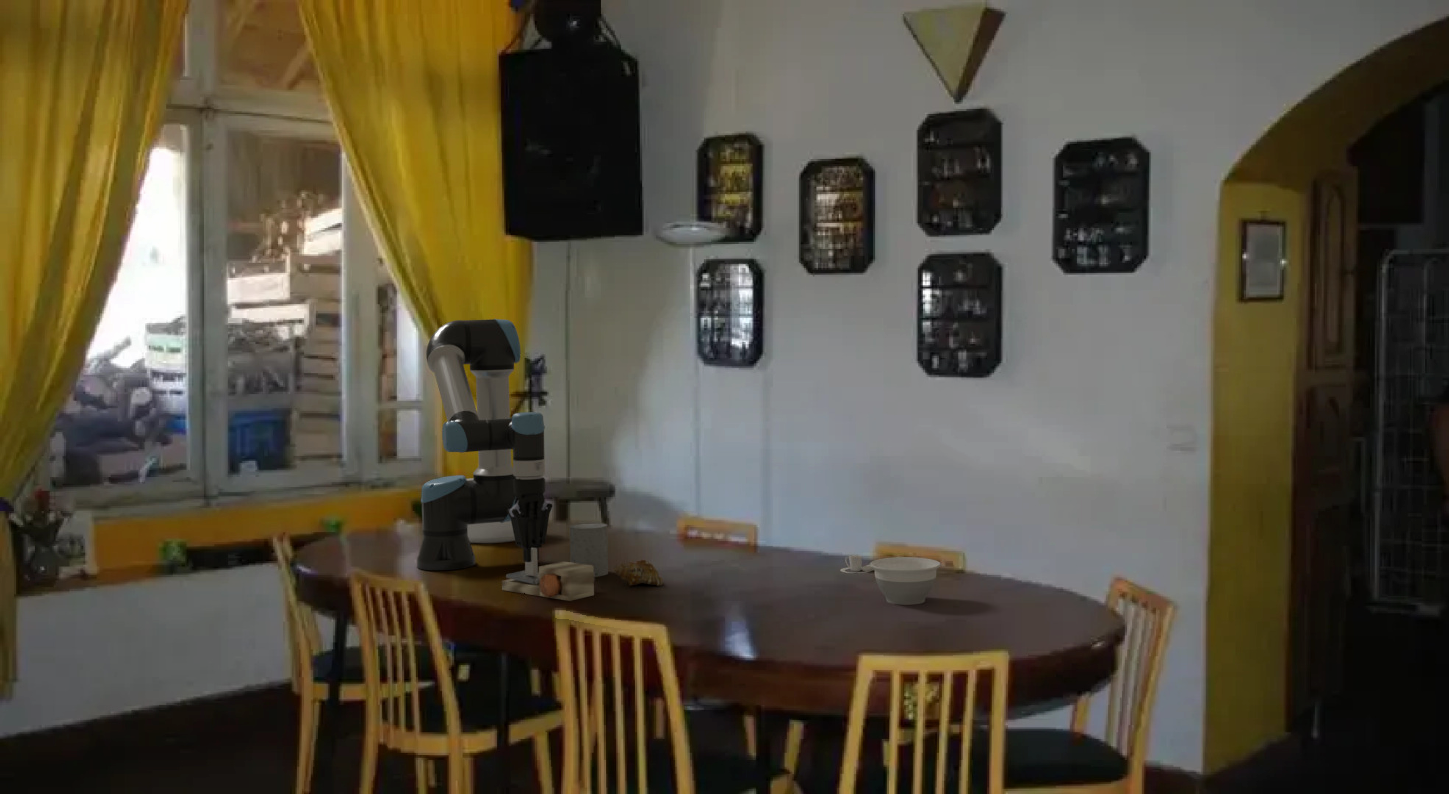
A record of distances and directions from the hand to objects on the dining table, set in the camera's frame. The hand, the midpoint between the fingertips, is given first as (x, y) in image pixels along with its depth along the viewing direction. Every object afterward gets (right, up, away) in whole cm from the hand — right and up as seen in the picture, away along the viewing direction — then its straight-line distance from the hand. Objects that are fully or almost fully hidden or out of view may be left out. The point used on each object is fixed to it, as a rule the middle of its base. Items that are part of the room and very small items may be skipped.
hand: (531, 574), depth 349 cm
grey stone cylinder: (+12, -2, +20) cm, 24 cm away
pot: (-22, +1, +80) cm, 83 cm away
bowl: (+87, -4, -20) cm, 90 cm away
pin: (+10, -3, -6) cm, 12 cm away
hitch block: (+4, -4, -3) cm, 6 cm away
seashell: (+26, -3, +4) cm, 26 cm away
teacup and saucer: (+80, -2, +15) cm, 82 cm away
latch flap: (0, -1, 0) cm, 1 cm away
